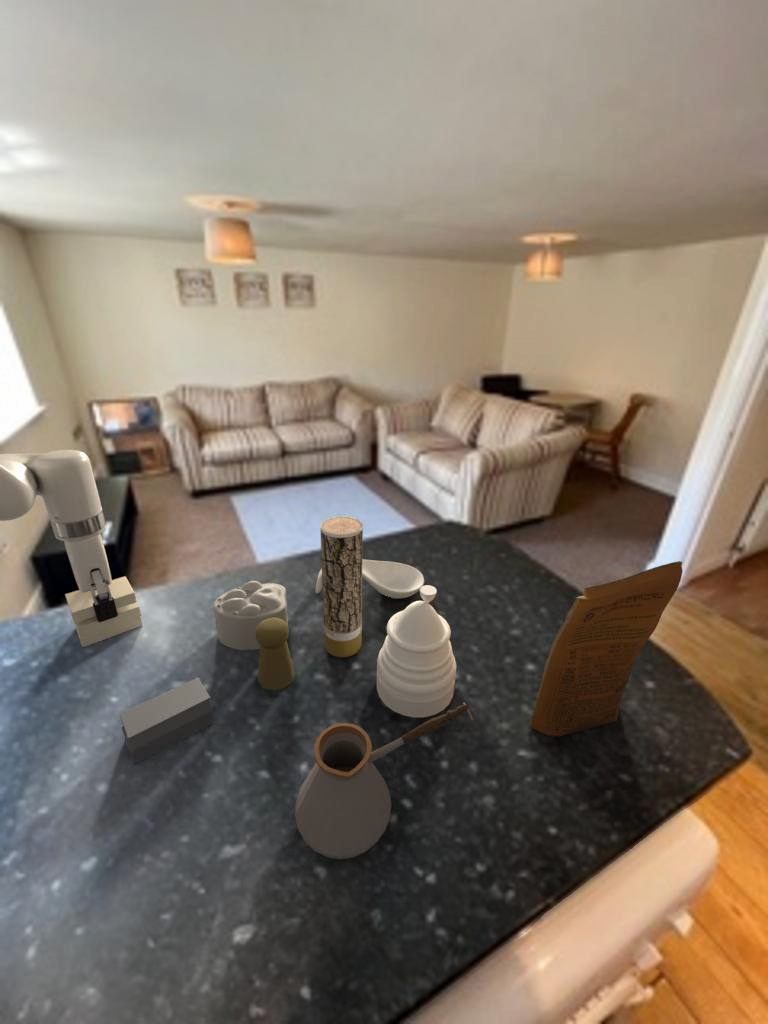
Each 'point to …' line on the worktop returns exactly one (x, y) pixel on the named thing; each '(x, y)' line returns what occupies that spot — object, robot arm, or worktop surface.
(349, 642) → the brown bark cylinder
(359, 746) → the coffee pot
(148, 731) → the grey block
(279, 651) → the olive peg figurine
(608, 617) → the pancake mix bag
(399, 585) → the spoon rest
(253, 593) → the lumpy-topped squat cylinder
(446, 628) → the honey pot
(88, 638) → the tan rectangular block
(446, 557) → the worktop surface
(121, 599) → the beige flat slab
